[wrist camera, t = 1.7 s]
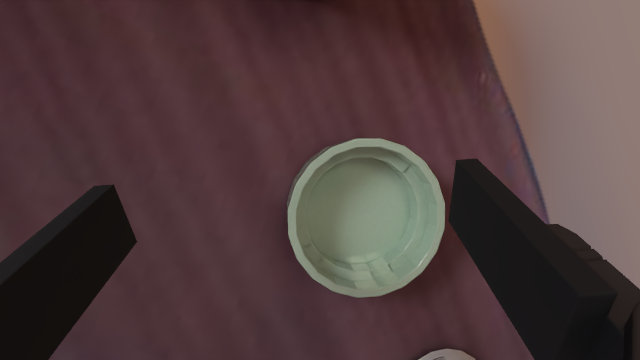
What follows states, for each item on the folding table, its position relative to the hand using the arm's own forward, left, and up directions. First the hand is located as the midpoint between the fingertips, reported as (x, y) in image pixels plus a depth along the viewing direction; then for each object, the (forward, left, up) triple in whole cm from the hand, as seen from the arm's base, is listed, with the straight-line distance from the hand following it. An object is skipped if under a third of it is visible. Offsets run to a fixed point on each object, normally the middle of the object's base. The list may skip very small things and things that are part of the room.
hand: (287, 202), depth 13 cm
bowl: (+7, +1, -14) cm, 16 cm away
